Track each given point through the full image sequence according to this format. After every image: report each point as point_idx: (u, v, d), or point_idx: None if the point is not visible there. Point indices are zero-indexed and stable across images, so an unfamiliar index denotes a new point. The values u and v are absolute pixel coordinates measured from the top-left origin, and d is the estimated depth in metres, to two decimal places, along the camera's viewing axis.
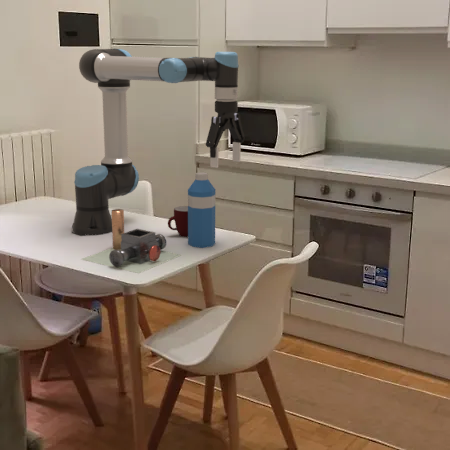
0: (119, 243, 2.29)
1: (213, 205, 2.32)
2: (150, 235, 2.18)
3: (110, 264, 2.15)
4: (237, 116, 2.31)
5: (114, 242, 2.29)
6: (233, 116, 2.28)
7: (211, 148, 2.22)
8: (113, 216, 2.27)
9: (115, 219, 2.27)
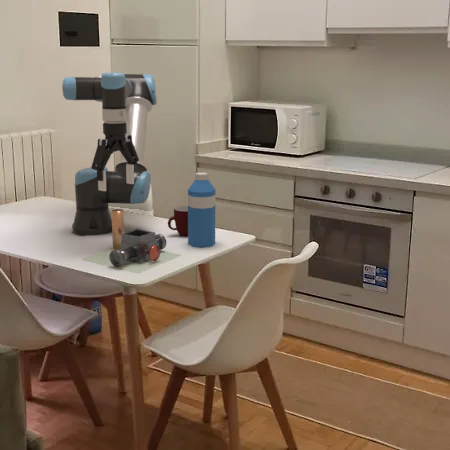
0: (119, 243, 2.29)
1: (213, 205, 2.32)
2: (150, 235, 2.18)
3: (110, 264, 2.15)
4: (128, 138, 2.26)
5: (114, 242, 2.29)
6: (123, 138, 2.23)
7: (97, 171, 2.17)
8: (113, 216, 2.27)
9: (115, 219, 2.27)
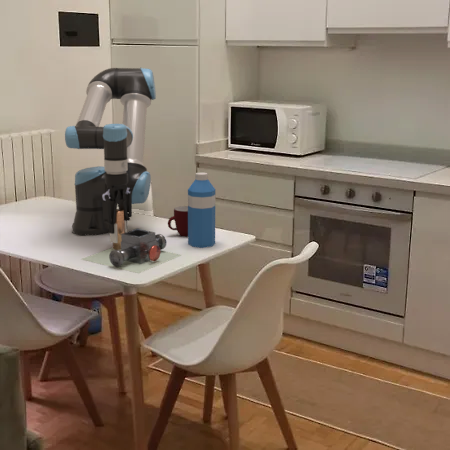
0: (119, 243, 2.29)
1: (213, 205, 2.32)
2: (150, 235, 2.18)
3: (110, 264, 2.15)
4: (129, 190, 2.30)
5: None
6: (125, 187, 2.28)
7: (109, 224, 2.26)
8: None
9: None
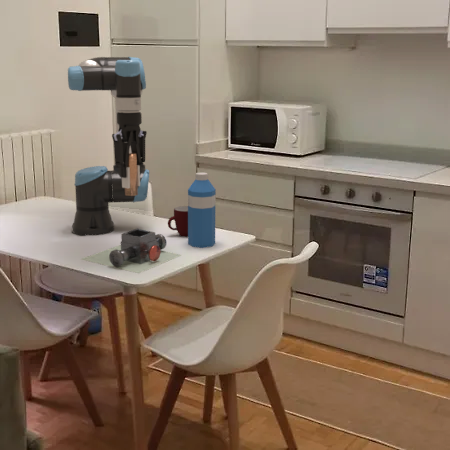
0: (131, 188, 2.15)
1: (213, 205, 2.32)
2: (150, 235, 2.18)
3: (110, 264, 2.15)
4: (143, 133, 2.16)
5: None
6: (138, 128, 2.14)
7: (121, 168, 2.12)
8: None
9: None
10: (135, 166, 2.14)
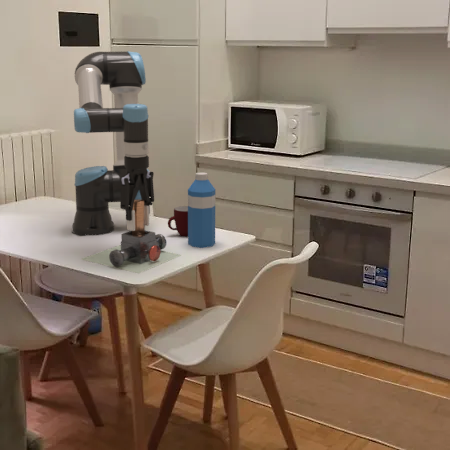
0: (139, 235, 2.17)
1: (213, 205, 2.32)
2: (150, 235, 2.18)
3: (110, 264, 2.15)
4: (150, 174, 2.18)
5: (134, 234, 2.17)
6: (145, 171, 2.15)
7: (126, 211, 2.12)
8: (133, 206, 2.15)
9: (135, 210, 2.15)
10: (143, 213, 2.16)
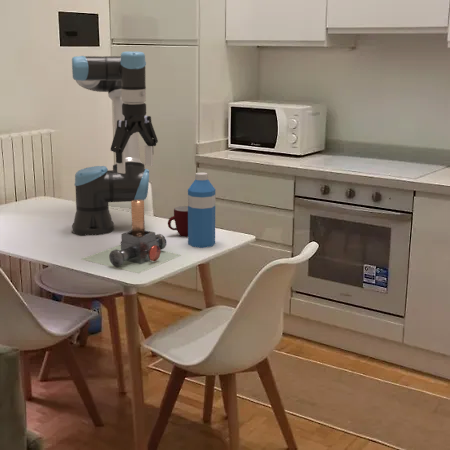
0: (139, 235, 2.17)
1: (213, 205, 2.32)
2: (150, 235, 2.18)
3: (110, 264, 2.15)
4: (148, 119, 2.21)
5: (134, 234, 2.17)
6: (142, 119, 2.18)
7: (117, 153, 2.12)
8: (133, 207, 2.15)
9: (135, 210, 2.14)
10: (142, 213, 2.16)
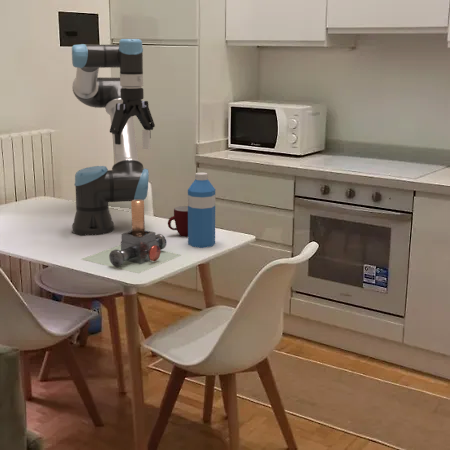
0: (139, 235, 2.17)
1: (213, 205, 2.32)
2: (150, 235, 2.18)
3: (110, 264, 2.15)
4: (145, 103, 2.32)
5: (134, 234, 2.17)
6: (140, 103, 2.29)
7: (115, 135, 2.23)
8: (133, 207, 2.15)
9: (135, 210, 2.14)
10: (142, 213, 2.16)
